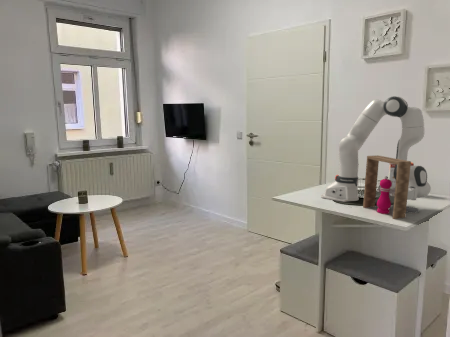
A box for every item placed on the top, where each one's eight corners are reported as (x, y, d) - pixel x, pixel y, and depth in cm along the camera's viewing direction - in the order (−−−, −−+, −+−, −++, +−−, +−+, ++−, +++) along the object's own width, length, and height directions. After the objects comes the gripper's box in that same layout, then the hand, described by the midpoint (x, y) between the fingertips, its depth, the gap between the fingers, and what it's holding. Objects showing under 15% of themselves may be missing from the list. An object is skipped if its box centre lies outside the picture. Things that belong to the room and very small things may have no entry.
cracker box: (387, 192, 248) (390, 161, 244) (386, 190, 253) (389, 160, 250) (410, 194, 244) (414, 163, 240) (409, 192, 249) (412, 161, 246)
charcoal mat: (395, 210, 205) (396, 209, 205) (397, 206, 214) (397, 205, 214) (418, 213, 200) (418, 212, 199) (418, 208, 209) (418, 207, 209)
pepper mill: (385, 215, 196) (389, 177, 193) (373, 211, 202) (376, 175, 199) (393, 212, 200) (396, 176, 197) (380, 209, 206) (383, 174, 203)
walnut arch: (393, 219, 189) (399, 162, 184) (363, 207, 211) (367, 155, 206) (405, 217, 192) (410, 161, 187) (373, 206, 213) (377, 155, 208)
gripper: (390, 181, 213) (370, 183, 208) (419, 189, 194) (399, 191, 189) (389, 192, 214) (370, 193, 209) (418, 201, 195) (398, 203, 190)
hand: (384, 192), depth 199 cm, fingers open, 8 cm apart
